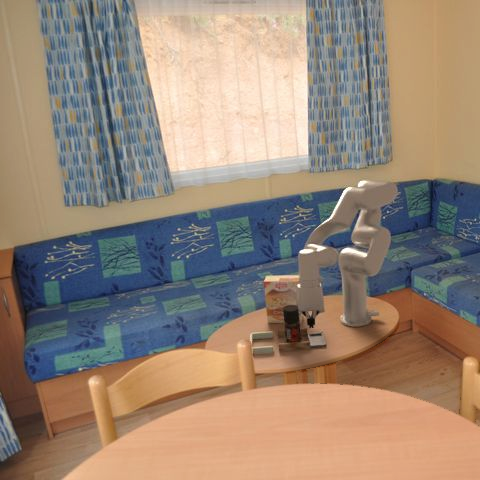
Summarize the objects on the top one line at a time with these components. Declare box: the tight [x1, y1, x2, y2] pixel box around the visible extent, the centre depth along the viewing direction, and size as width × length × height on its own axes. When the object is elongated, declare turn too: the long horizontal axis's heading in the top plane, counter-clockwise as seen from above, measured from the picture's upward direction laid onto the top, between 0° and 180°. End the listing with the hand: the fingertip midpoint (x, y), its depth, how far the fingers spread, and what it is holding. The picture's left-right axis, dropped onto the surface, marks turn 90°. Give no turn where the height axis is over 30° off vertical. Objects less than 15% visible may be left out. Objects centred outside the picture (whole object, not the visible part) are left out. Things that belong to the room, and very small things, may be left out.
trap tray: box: [307, 331, 327, 349], centre depth 180 cm, size 6×10×1 cm, turn 177°
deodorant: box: [283, 305, 302, 343], centre depth 179 cm, size 6×6×15 cm
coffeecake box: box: [263, 274, 304, 324], centre depth 199 cm, size 15×7×20 cm, turn 77°
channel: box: [276, 327, 312, 352], centre depth 181 cm, size 12×12×3 cm
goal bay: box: [249, 330, 275, 355], centre depth 182 cm, size 9×13×2 cm
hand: (311, 326), depth 178 cm, fingers closed
